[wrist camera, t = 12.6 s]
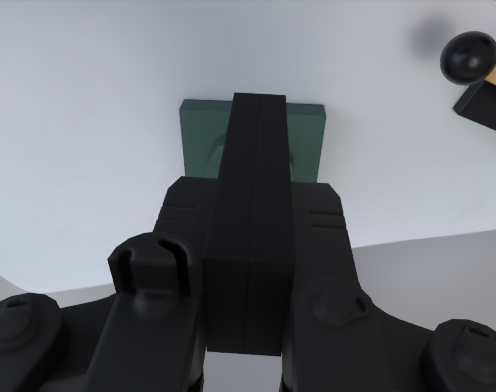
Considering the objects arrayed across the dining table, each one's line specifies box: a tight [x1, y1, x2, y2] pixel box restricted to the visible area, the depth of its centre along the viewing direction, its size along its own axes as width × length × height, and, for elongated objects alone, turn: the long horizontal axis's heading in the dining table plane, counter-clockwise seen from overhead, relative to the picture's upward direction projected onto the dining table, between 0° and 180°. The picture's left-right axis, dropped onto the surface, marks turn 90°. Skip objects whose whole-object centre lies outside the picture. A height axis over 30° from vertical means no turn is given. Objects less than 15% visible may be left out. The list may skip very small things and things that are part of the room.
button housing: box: [179, 100, 326, 183], centre depth 35 cm, size 12×10×4 cm
